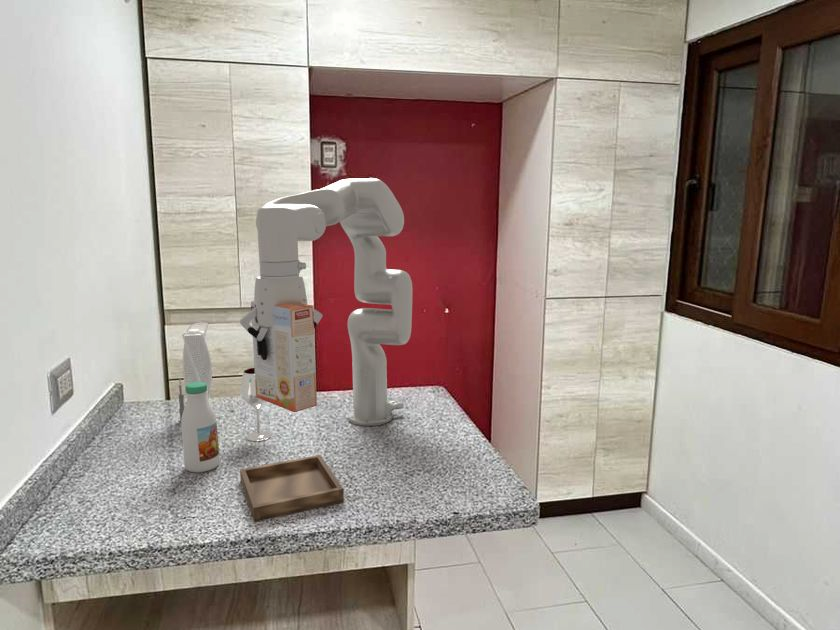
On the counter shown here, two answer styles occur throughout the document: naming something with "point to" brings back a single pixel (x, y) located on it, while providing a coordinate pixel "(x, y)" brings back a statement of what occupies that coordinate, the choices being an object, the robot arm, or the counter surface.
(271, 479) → the walnut tray
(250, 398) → the wineglass
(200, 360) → the skyscraper
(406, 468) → the counter surface
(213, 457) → the milk bottle
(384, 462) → the counter surface
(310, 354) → the cracker box
